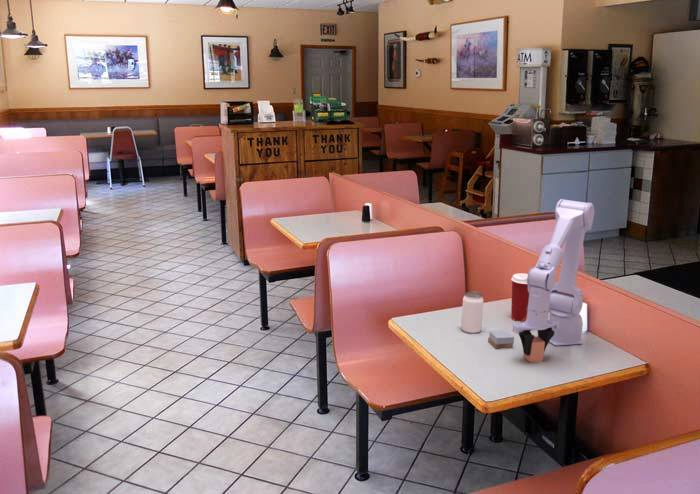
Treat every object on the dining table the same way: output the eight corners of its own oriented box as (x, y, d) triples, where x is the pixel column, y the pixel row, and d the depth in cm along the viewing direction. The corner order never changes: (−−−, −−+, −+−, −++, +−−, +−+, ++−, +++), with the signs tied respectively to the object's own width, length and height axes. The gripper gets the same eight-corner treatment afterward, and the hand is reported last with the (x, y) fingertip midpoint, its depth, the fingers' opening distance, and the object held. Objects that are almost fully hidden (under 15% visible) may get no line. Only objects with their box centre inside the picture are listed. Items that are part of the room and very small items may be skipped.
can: (476, 335, 201) (479, 299, 198) (457, 330, 204) (460, 295, 201) (484, 329, 206) (486, 293, 203) (465, 324, 209) (467, 290, 206)
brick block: (535, 355, 187) (537, 336, 185) (542, 361, 183) (544, 341, 181) (523, 356, 186) (525, 337, 184) (530, 362, 182) (532, 342, 180)
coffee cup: (535, 323, 212) (540, 280, 208) (510, 322, 212) (514, 279, 208) (529, 314, 220) (533, 272, 216) (505, 313, 220) (509, 272, 216)
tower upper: (505, 336, 196) (506, 330, 196) (513, 343, 191) (514, 337, 191) (489, 337, 195) (489, 331, 195) (496, 344, 190) (496, 338, 190)
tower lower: (504, 342, 197) (504, 336, 196) (512, 349, 192) (513, 343, 191) (487, 343, 196) (488, 337, 195) (495, 350, 190) (496, 344, 190)
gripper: (551, 302, 186) (546, 345, 190) (508, 306, 182) (504, 350, 185) (566, 310, 180) (561, 354, 183) (522, 315, 175) (518, 360, 179)
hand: (533, 353), depth 184 cm, fingers closed on brick block, 4 cm apart
